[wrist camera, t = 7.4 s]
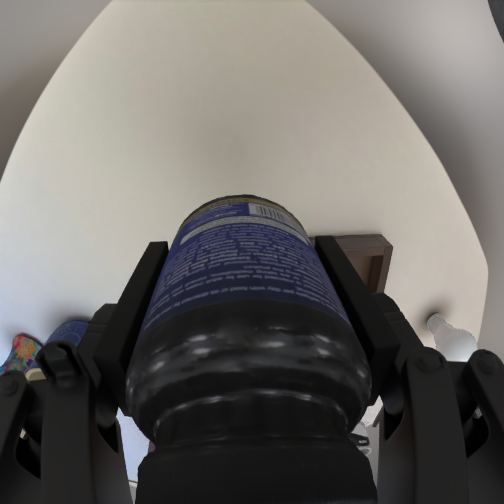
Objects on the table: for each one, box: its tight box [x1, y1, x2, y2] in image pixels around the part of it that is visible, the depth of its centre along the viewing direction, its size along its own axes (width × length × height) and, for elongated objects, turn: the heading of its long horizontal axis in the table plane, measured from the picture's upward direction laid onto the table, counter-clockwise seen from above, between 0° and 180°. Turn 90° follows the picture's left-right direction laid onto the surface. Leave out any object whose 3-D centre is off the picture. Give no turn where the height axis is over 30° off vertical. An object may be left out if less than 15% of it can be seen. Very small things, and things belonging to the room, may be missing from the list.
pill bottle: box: [125, 194, 378, 504], centre depth 9 cm, size 6×6×11 cm
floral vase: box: [0, 336, 42, 376], centre depth 34 cm, size 12×9×11 cm
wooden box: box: [308, 235, 393, 293], centre depth 34 cm, size 18×18×3 cm
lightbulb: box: [427, 313, 478, 362], centre depth 33 cm, size 6×6×11 cm
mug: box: [348, 422, 372, 456], centre depth 48 cm, size 10×7×7 cm, turn 76°
